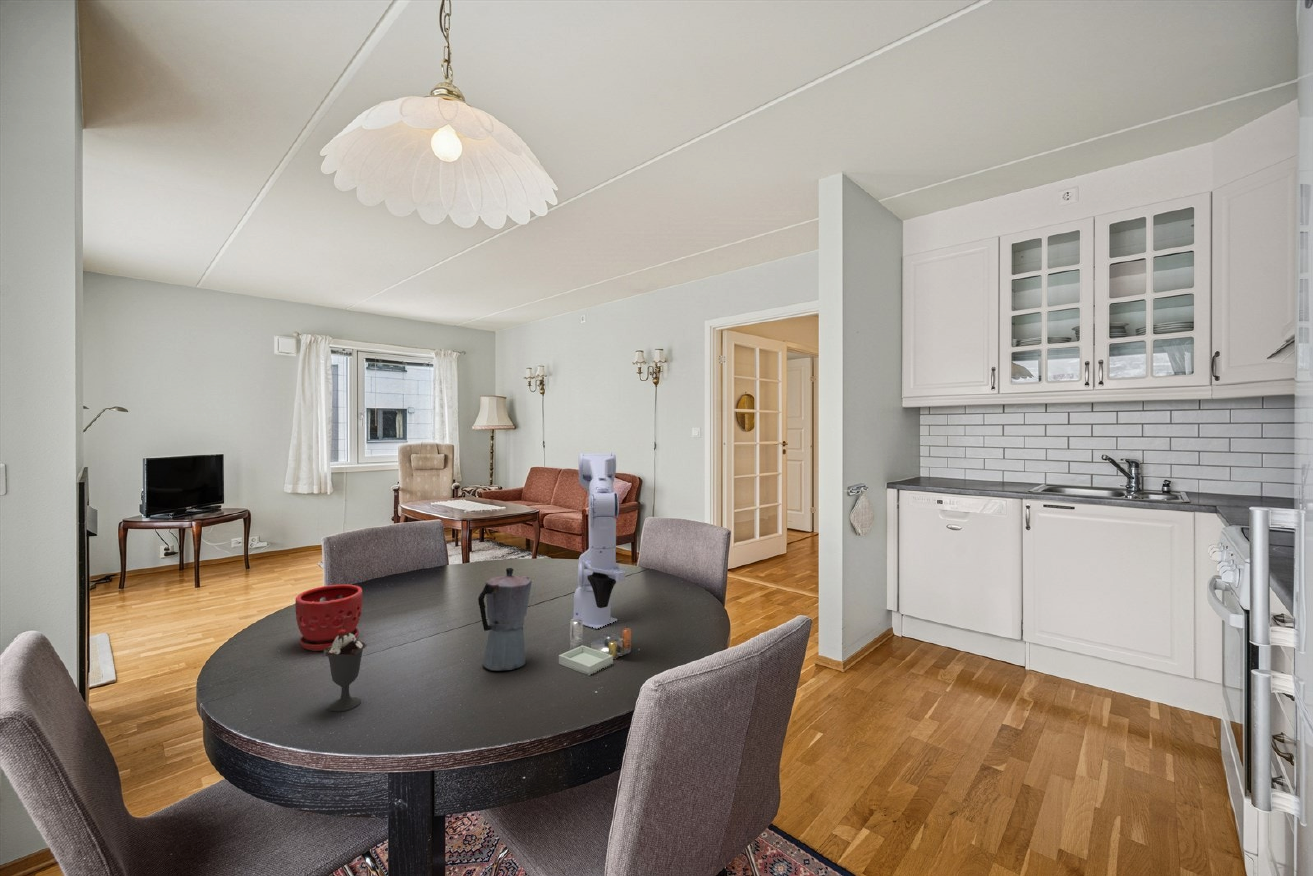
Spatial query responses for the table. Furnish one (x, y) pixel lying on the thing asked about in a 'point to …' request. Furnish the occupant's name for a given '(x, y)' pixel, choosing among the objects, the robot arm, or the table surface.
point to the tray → (585, 660)
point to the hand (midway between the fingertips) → (602, 606)
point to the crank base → (606, 647)
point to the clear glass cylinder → (576, 633)
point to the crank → (623, 645)
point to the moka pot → (505, 620)
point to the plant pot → (327, 614)
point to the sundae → (344, 667)
